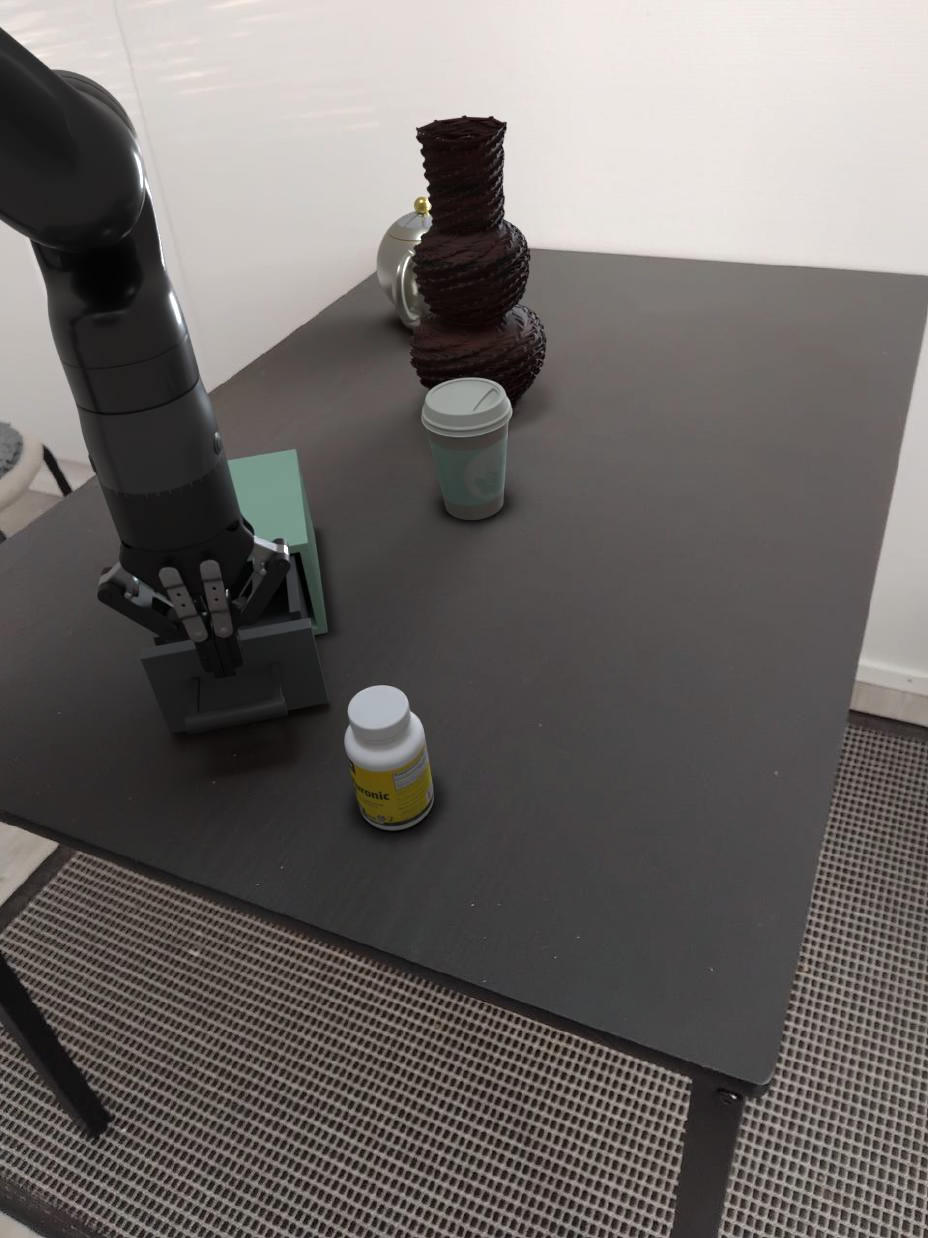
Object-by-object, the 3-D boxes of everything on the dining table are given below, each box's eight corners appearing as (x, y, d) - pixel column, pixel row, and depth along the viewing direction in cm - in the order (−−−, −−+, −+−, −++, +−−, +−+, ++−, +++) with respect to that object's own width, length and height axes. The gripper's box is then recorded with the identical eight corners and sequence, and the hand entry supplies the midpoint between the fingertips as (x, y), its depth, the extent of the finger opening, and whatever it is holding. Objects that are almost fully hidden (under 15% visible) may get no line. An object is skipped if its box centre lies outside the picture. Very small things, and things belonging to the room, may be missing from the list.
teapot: (409, 296, 141) (395, 177, 131) (498, 302, 137) (491, 179, 127) (356, 350, 129) (336, 223, 118) (452, 358, 124) (440, 227, 114)
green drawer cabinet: (328, 632, 85) (307, 542, 78) (169, 662, 83) (136, 572, 77) (314, 533, 97) (296, 448, 90) (175, 558, 95) (147, 473, 89)
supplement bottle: (344, 802, 70) (320, 704, 64) (404, 762, 72) (387, 664, 66) (389, 847, 67) (368, 749, 60) (450, 803, 69) (436, 705, 63)
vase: (416, 445, 108) (379, 155, 89) (416, 382, 120) (384, 115, 101) (554, 432, 108) (547, 139, 89) (541, 371, 120) (532, 100, 101)
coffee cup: (462, 539, 94) (451, 427, 86) (416, 501, 99) (402, 394, 92) (534, 507, 97) (529, 396, 89) (485, 472, 103) (477, 366, 95)
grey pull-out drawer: (335, 751, 73) (316, 675, 68) (166, 785, 71) (135, 709, 66) (315, 592, 88) (298, 520, 83) (175, 618, 86) (150, 546, 82)
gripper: (268, 409, 62) (315, 620, 73) (54, 442, 60) (135, 652, 71) (273, 468, 56) (323, 688, 67) (36, 506, 55) (127, 724, 66)
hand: (226, 669), depth 69 cm, fingers closed
